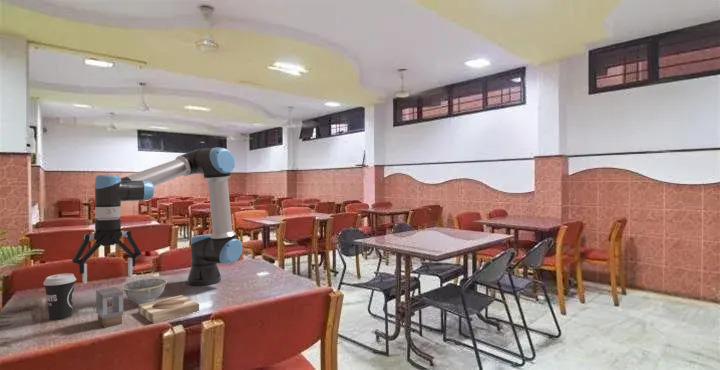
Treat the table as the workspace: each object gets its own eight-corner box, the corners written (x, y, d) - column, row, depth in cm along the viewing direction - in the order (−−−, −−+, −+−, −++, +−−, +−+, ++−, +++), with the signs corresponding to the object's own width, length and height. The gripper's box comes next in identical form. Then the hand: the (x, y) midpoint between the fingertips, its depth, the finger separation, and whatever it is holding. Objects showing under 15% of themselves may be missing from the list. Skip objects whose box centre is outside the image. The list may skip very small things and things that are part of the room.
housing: (96, 312, 135) (96, 290, 135) (115, 308, 139) (115, 286, 139) (102, 319, 129) (102, 295, 129) (123, 314, 133) (122, 291, 133)
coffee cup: (56, 312, 144) (55, 273, 143) (82, 311, 144) (82, 272, 144) (36, 322, 134) (36, 279, 134) (65, 321, 135) (64, 279, 135)
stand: (97, 320, 136) (97, 311, 136) (114, 316, 139) (113, 308, 139) (105, 327, 129) (105, 319, 129) (122, 323, 133) (121, 315, 132)
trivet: (138, 312, 143) (138, 304, 143) (182, 302, 155) (182, 294, 155) (153, 323, 132) (153, 314, 132) (199, 311, 144) (199, 303, 144)
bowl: (135, 311, 145) (135, 291, 145) (114, 304, 154) (114, 285, 153) (175, 299, 159) (174, 281, 159) (153, 293, 167) (153, 276, 167)
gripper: (65, 222, 122) (65, 288, 122) (150, 217, 140) (150, 274, 140) (61, 220, 127) (61, 284, 127) (143, 215, 145) (143, 271, 145)
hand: (108, 279), depth 134 cm, fingers open, 13 cm apart
